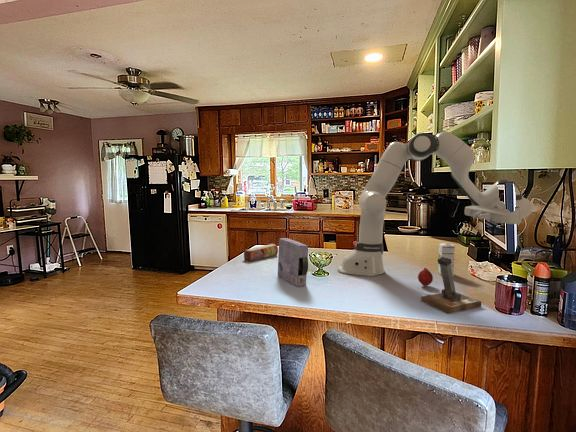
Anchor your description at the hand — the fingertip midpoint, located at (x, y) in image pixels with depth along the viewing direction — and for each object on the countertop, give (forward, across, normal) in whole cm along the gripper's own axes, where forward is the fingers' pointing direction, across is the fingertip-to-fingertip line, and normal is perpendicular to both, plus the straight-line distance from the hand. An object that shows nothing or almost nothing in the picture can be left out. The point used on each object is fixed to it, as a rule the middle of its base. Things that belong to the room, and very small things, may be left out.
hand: (477, 216), depth 133 cm
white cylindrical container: (-6, -18, +33) cm, 38 cm away
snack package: (+63, -83, +32) cm, 109 cm away
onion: (+16, -9, +30) cm, 35 cm away
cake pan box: (+64, -38, +28) cm, 80 cm away
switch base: (+23, +10, +28) cm, 37 cm away
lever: (+23, +10, +24) cm, 35 cm away
